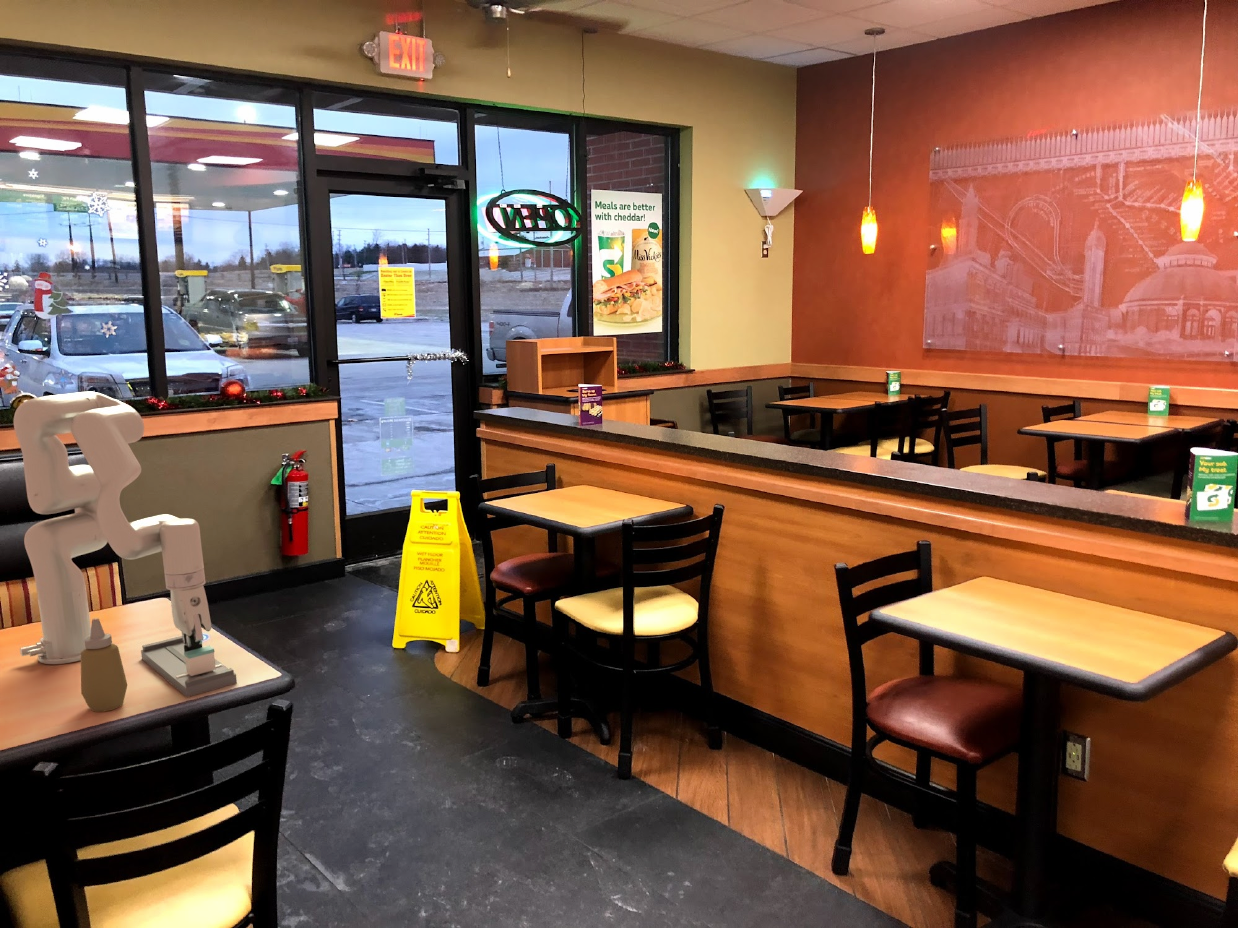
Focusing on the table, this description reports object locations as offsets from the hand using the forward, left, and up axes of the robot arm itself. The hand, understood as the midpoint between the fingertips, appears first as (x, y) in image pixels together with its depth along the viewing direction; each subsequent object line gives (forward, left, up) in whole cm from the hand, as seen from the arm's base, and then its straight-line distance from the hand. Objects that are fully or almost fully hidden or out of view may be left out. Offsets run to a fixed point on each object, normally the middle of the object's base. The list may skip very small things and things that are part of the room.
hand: (194, 662), depth 206 cm
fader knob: (0, -4, -1) cm, 4 cm away
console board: (0, +6, -3) cm, 7 cm away
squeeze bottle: (-18, -2, -4) cm, 19 cm away
